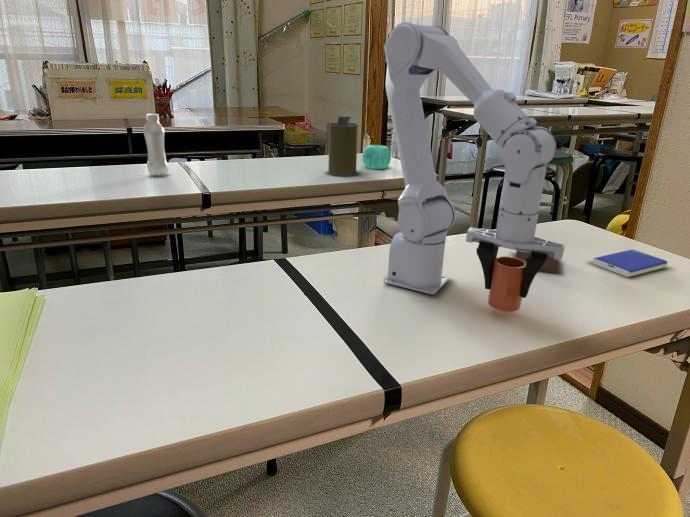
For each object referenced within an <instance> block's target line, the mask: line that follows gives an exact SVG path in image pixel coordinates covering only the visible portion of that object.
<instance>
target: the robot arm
mask: <svg viewBox="0 0 690 517" xmlns="http://www.w3.org/2000/svg"><path fill="white" fill-rule="evenodd" d="M383 50H384V55H385V60H386V74H385V85H384V86H385V92H386V97H387V102H388V107H389V111H390V117H391V122H392V126H393V132H394V137H395V142H396V146H397V152H398V155H399V156H398V158H399V161H400V166H401V171H402V176H403V181H404V186H405V187H404V189H403V191H402V192H401V194H400V196H399V197H398V199H397V204H398V215H397V226H398V229H399V232H397V233H396V234H394V236H393V238H392V240H391V242H390V246H389V253H388V268H387V279H385V283H386V284H388V285H392V286H396V287H400V288H404V289H408V290H412V291H416V292H420V293H424V294H428V295H436V294H437V293H438V291H440V290H441V289H442V288H443V287H444V286H445V285H446V284H447V283H448V282H449V277H447V276H443V268H444V259H445V248H446V240H447V236H448V231H449V230H450V229H451V228H453V226H454V225H455V222H456V218H457V213H456V208H455V206H454V204H453V203H452V201H451V200H450V197H449V195H448V190H447V189H446V187H444V185H442V184H441V183H440V182H439V181H438V180H437V174H436V170H435V166H434V159H433V155H432V150H431V144H430V139H429V134H428V129H427V128H428V127H427V122H426V117H425V114H424V113H425V112H424V108H423V103H422V97H421V93H420V90H421V88H422V86H423V85H424V84H425V82H426V80H427V79H428V78H429V77H430V76H431V75H433V74H434V73H435V72H436V71H439V72H441V73H442V74H443V75H444V76H445V77H446V78H447V79H448V80H449V81H450V82H451V83H452V85H454V86H455V87H456V88H457V89H458V90H459V91H460V92H461V93H462V94H463V96H464V97H466V99H468V100H469V101H470V102H471V103H472V105H473V119H475V121H476V122H477V123H478V124H479V125H480V126H481V127H482V129H483V130H484V131H485V132H486V134H488V135H489V137H490V138H491V139H492V140H493V142H494V143H495V144H496V145H497V146H498V148H499V155H500V159H501V162H502V164H503V166H504V176H503V177H504V178H503V183H502V189H501V197H500V204H499V210H498V217H497V223H496V229H489V228H488V229H485V228H478V227H469V229H467V230H466V238H465V242H466V243H471V244H472V243H478V246H477V247H476V255H477V257H478V259H479V262H480V265H481V268H482V273H483V278H484V289H485V290H488V291H489V290H490V283H491V276H492V270H493V263H494V259H495V258H497V257H498V252H499V248H503V249H509V250H514V251H516V250H518V251H523V252H528V253H531V254H530V255H529V257H528V258H527V261H526V272H525V279H524V283H523V287H522V291H521V297H522V299H526V298H527V296H528V294H529V291H530V288H531V286H532V283H533V281H534V279H535V277H536V275H537V274H538V272H540V271H539V270H540V268H541V267H542V266H543V264H544V263H545V261H546V260H547V258H548V256H549V257H553V258H554V259H556V260H559V261H562V259H563V257H564V252H565V248H566V245H565V244H564V243H558V242H554V241H551V240H549V239H548V240H547V239H544V238H540V237H538V236H536V230H537V224H538V219H539V215H540V214H539V213H540V207H541V202H542V198H543V197H542V196H543V191H544V187H545V186H544V185H545V178H546V173H547V167H548V166H547V165H548V164H549V163H550V162H551V161H552V160H553V159H554V157H555V155H556V153H557V141H556V138H555V136H554V135H553V133H552V131H551V130H550V129H548V128H547V127H543V126H536V125H537V124H538V121H537V120H536V119H535V118H534V117H529V116H528V114H527V113H526V112H525V111H524V110H523V109H522V108H521V107H520V106H519V105H518V104H517V103H516V100H517V99H518V97H517V96H516V94H514V92H512V91H509V92H508V91H507V92H506V90H505V89H501V88H500V89H493V88H492V87H491V86H490V84H489V83H488V82H487V81H486V79H485V78H484V77H483V75H482V74H481V73H480V71H479V70H478V69H477V68H476V67H475V65H474V64H473V62H472V61H471V60H470V59H469V58H468V56H467V55H466V54H465V52H464V51H463V50H462V49H461V47H460V45H459V43H458V40H457V39H456V38H455V37H454V36H453V35H450V33H449V31H448V30H447V29H446V28H445V27H443V26H440V25H424V24H415V23H412V22H408V21H403V22H400V23H398V24H396V25H395V26H394V27H393V29H392V30H391V32H390V33H389V36H388V38H387V39H386V41H385V43H384V45H383Z"/></svg>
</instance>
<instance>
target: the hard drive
mask: <svg viewBox="0 0 690 517" xmlns="http://www.w3.org/2000/svg"><path fill="white" fill-rule="evenodd" d="M592 263H593V265H595V266H598V267H600V268H603V269H605V270H608V271H611V272H614V273H616V274H619V275H621V276H624V277H626V278H627V277H628V278H630V277H634V276H637V275H642V274H645V273H650V272H653V271H657V270H660V269H664V268H667V266H668V261H667V260H665V259H663V258H660V257H657V256H654V255H650V254H648V253H645V252H642V251H639V250H636V249H634V248H633V249H627V250H623V251H618V252H614V253H609V254H605V255H601V256H597V257H593V260H592Z"/></svg>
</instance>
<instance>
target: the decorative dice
mask: <svg viewBox="0 0 690 517" xmlns="http://www.w3.org/2000/svg"><path fill="white" fill-rule="evenodd" d="M391 159H392V152H391V149H389V147H388V146H386V145H384V144H383V145H382V144H370V145H367V146H366V147H365V148H364V150H363V153H362V163H363V165H364V166H365V167H366V169H369V170H385V169H387V168H388V167H389V166H390V164H391Z"/></svg>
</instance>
